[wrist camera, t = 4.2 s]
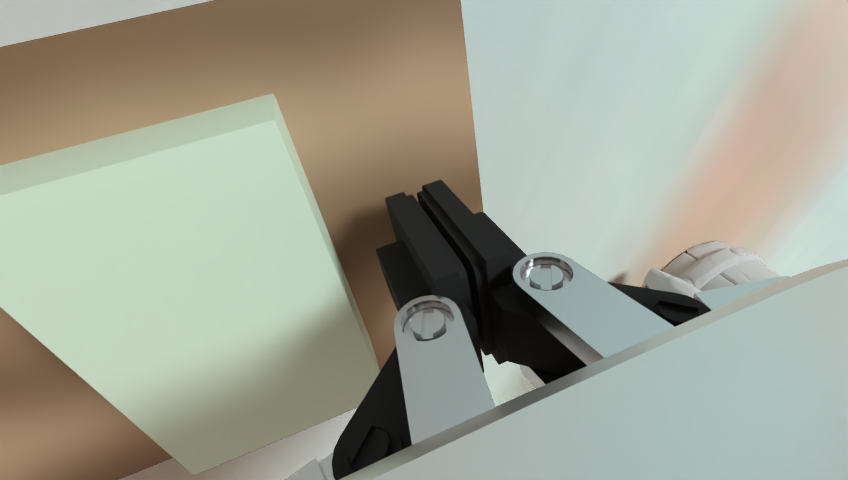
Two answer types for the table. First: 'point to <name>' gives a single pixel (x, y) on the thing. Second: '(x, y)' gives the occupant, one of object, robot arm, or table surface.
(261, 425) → the tile
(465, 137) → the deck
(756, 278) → the mug
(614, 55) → the table surface
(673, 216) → the table surface
